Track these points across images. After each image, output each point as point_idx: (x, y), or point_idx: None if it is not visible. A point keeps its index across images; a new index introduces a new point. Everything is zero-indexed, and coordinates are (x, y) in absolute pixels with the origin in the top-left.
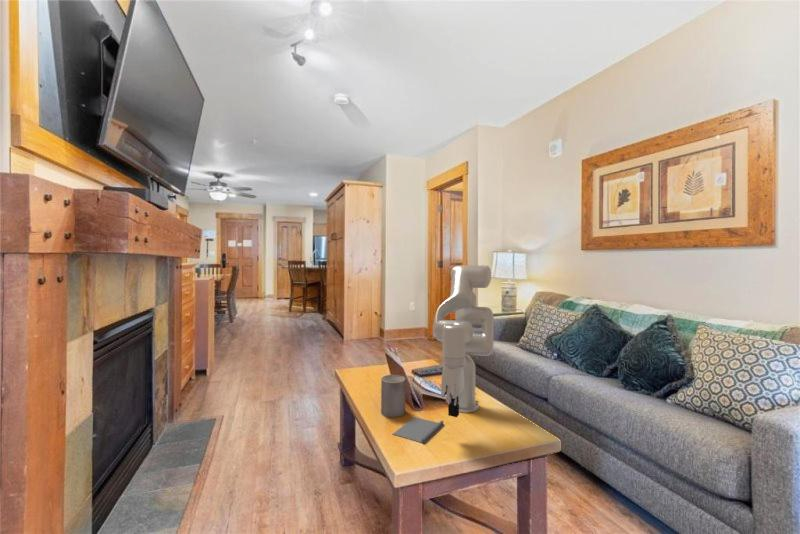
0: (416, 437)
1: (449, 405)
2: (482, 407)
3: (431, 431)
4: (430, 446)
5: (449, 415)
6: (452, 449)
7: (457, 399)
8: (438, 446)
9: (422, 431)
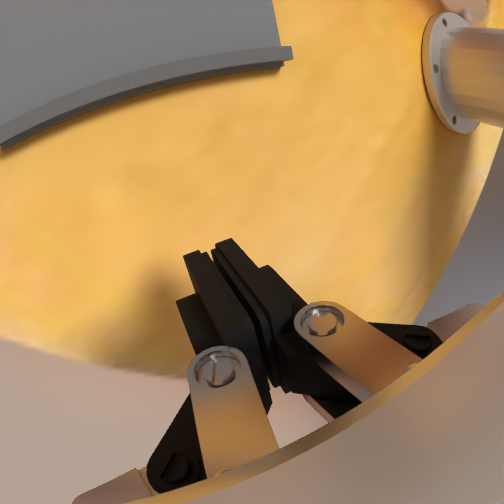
0: (17, 63)
1: (220, 329)
2: (472, 136)
3: (107, 90)
4: (13, 187)
5: (186, 263)
6: (86, 281)
7: (325, 414)
8: (47, 215)
9: (105, 25)
